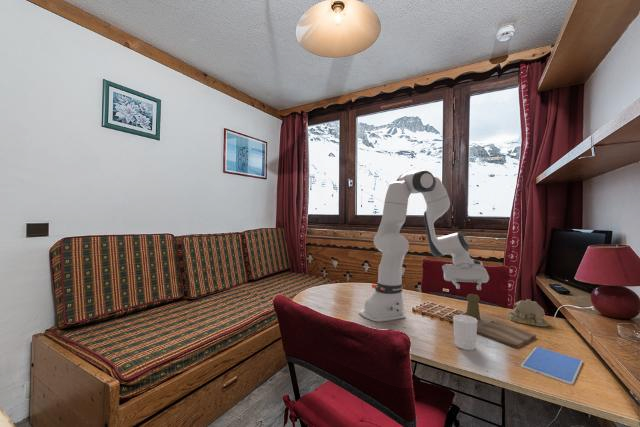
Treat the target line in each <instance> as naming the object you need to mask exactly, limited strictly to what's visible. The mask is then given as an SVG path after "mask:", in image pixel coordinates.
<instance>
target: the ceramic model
mask: <svg viewBox="0 0 640 427" xmlns="http://www.w3.org/2000/svg"><path fill="white" fill-rule="evenodd" d="M512 307H513V311H514V312H512V311H507V316H508V318H509V320H511V321H513V322H516V323H520V324H525V325H533V326H536V327H549V326H550V325H549V322H548V321H546V320H545V319H544V316H546V313H545V310H544V308H543V307H542V306H541V305H540V304H539V303H538V302H537V301H532V300H531V299H529V298H526V300H519V301H517V302H515V303H514V305H513V306H512Z"/></svg>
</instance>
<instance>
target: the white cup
mask: <svg viewBox="0 0 640 427" xmlns="http://www.w3.org/2000/svg"><path fill="white" fill-rule="evenodd" d="M452 319H453V335H454V345H455V346H456V347H458V348H459V349H462V350H464V351H465V350H466V351H474V350H475V349H476V342H477V335H478V334H477V327H478V322H479V321H477V319H475V318H473V317H471V316H467V315H466V314H455V315H453V316H452Z"/></svg>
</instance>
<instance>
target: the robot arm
mask: <svg viewBox="0 0 640 427" xmlns="http://www.w3.org/2000/svg"><path fill="white" fill-rule="evenodd" d="M411 194H421V195H422V196H423V198H424V202H425V203H426V210H425V211H424V213H423V219H424V221H423V222H424V225H425V231H426V236H427V240H428V249H429V252H430V253H431V255H433V256H434V257H437V258H441V257H443V256H445V255H451V257H452V263H449V264H448V263H445V264H443V265H442V266H441V268H442V271H443V279H444V280H445V282H452V284H453V286H455V289H457V290H460V289H461V286H460V283H458V282H461V283H462V282H463V283H477V285H476V290H477V291H481V290H482V283H483V284H486V283H488V281H489V280H490V275H489V273H488V271H487V269H486V268H485V267H484V266H483V265H484V264H483V262H482V261H481V260H477V259H474V258H471V256H470V252H469V250H470V246H469V242H468V240H467V237H466V235H464V234H462V233H461V232H454V233H451V234H448V235H443V236H437V235H436V231H435V226H434V225H435V224H434V223H435V222H436V221H437V220H438V219H439V218H441V217H442V216H443V215H444V214H445V213H446V212H448V210H449V209H450V206H451V200H450V196H449V194H448V191H447V189H446V187H445V186H444V184H443V183H442V181H441V179H440V178H439V177H437V176H434V175H433V173H432V172H431V171H428V170H427V169H426V170H425V169H420V170H412V171H408V172H404V173H402V174H400V175H399V176H398V177H397V178H396V181H393V182H391V183H389V185H388V187H387V191H386V194H385V198H384V203H383V209H382V216H381V220H380V223H379V227H378V229H377V233H376V234H375V235H374V237H373V245H374V246H375V248H376V249H377V250H378V251H379V252H381V253H382V254H381V259H380V263H379V264H378V268H377V270H378V273H377V275H378V276H377V277H378V279H377V283H376V284H375V283H372V284H371V288H372V289H374V291H373V292H372V293H371V295H369V297H368V298H367V299H366V300H365V303H364V308H363V309H360V310H359V314H360V316H362V317H364V318H365V319H368V320H370V321H373V322H379V323H382V322H386V321H387V322H388V321H393V320H401V319H406V314H405V313H406V312H405V306H404V305H405V304H404V299H403V294H402V293H403V288H404V287H403V283H402V280H403V279H402V277H403V276H402V274H403V273H402V272H403V264H404V260H405V256H406V254H407V253H408V252H409V248H410V243H409V241H408V239H407V238H406V237H405V236H404V235H402V234H400V231H401V229H402V227H403V225H404V224H405V222H406V220H407V219H406V218H407V213H408V206H409V198H410V196H411Z"/></svg>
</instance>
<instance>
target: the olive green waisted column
mask: <svg viewBox="0 0 640 427" xmlns="http://www.w3.org/2000/svg"><path fill="white" fill-rule="evenodd" d="M480 299H481V298H480V296H479V295H478V294H475V293H469V294H467V296H466V301H467V306H466V311H465V313H466V314H465V315H467V316H471V317H473V318H475V319H477V321H478V322H479V321H481V313H480V305H479V303H480V301H481V300H480Z"/></svg>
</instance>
